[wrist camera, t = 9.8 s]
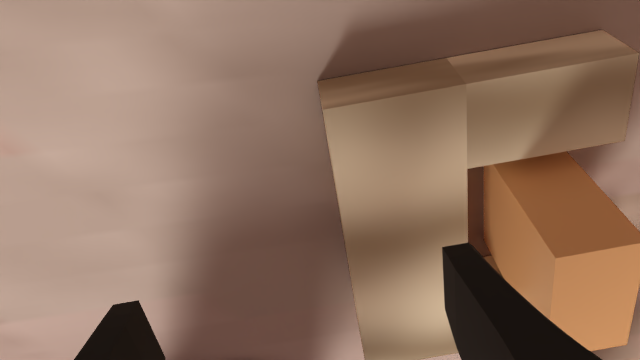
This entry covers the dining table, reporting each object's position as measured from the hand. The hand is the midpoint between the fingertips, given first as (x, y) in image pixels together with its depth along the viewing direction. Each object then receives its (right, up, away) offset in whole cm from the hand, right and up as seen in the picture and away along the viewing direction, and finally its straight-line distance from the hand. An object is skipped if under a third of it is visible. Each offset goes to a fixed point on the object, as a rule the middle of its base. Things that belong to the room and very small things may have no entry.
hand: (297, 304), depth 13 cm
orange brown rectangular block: (+9, +2, +12) cm, 15 cm away
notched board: (+7, +2, +12) cm, 14 cm away
